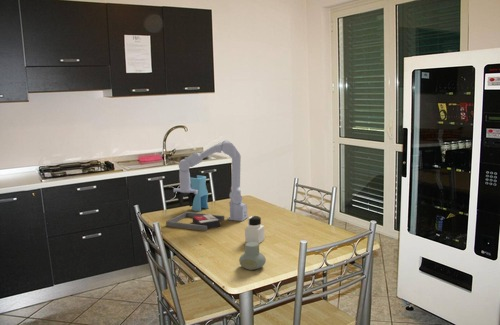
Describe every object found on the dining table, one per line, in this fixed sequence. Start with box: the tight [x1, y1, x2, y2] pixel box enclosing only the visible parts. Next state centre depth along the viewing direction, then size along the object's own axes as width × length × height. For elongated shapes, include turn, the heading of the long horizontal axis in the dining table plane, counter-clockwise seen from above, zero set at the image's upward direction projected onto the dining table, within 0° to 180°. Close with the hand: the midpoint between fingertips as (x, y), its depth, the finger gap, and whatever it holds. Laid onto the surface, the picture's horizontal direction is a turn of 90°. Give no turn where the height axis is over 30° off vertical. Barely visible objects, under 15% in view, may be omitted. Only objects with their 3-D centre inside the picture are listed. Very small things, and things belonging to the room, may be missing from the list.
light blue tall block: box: [190, 175, 210, 213], centre depth 278 cm, size 8×8×20 cm
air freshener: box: [238, 242, 267, 271], centre depth 189 cm, size 11×8×10 cm
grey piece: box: [165, 211, 225, 232], centre depth 252 cm, size 25×20×2 cm
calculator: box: [192, 213, 221, 230], centre depth 249 cm, size 11×4×15 cm
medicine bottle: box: [244, 215, 265, 245], centre depth 220 cm, size 7×7×12 cm
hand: (186, 205), depth 252 cm, fingers open, 5 cm apart
